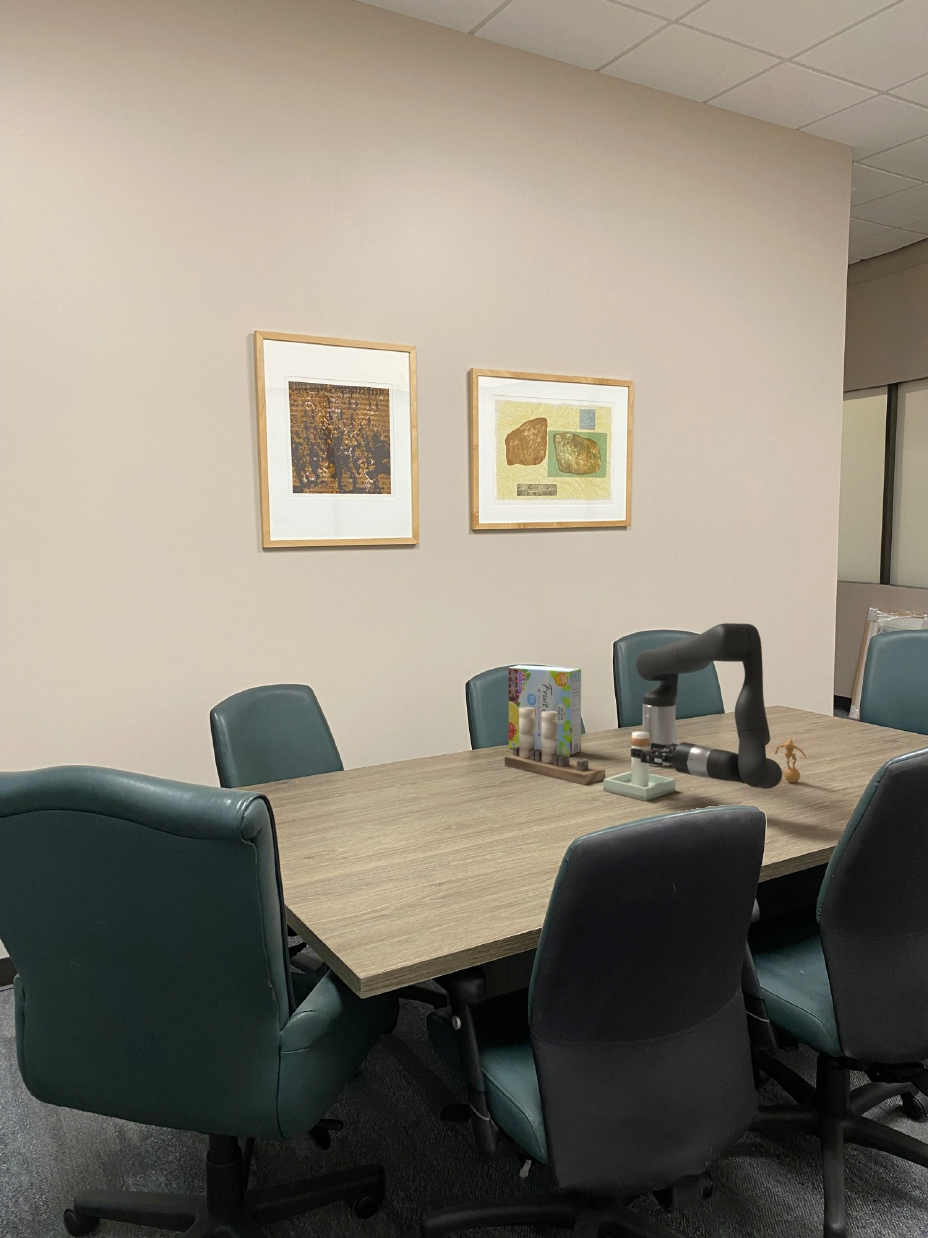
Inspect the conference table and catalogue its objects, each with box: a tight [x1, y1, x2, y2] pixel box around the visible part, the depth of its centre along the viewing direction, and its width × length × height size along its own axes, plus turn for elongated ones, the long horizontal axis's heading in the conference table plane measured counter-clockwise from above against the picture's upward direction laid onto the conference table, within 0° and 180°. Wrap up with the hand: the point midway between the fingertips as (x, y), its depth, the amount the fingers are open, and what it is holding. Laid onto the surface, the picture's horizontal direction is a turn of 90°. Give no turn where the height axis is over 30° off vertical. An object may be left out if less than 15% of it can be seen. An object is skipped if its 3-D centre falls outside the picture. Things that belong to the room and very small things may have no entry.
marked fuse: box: [630, 730, 650, 787], centre depth 224 cm, size 5×5×14 cm
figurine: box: [774, 738, 808, 784], centre depth 230 cm, size 8×6×12 cm
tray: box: [602, 770, 676, 802], centre depth 225 cm, size 13×13×3 cm
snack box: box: [508, 664, 582, 756], centre depth 269 cm, size 22×9×26 cm, turn 58°
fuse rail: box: [504, 707, 606, 785], centre depth 244 cm, size 9×29×16 cm, turn 44°
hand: (641, 749), depth 223 cm, fingers open, 8 cm apart
